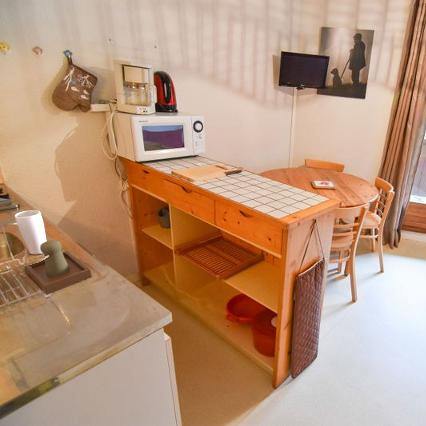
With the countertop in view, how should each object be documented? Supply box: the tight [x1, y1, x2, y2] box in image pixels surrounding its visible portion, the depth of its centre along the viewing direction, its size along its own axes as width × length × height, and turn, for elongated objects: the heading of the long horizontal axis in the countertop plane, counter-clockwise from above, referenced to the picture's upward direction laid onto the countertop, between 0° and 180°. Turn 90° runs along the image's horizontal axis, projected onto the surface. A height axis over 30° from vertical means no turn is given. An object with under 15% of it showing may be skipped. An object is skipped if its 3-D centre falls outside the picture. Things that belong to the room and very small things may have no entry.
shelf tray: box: [23, 250, 93, 295], centre depth 103 cm, size 18×12×3 cm, turn 55°
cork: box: [40, 239, 70, 277], centre depth 101 cm, size 6×6×11 cm
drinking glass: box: [14, 209, 47, 256], centre depth 112 cm, size 7×7×15 cm
